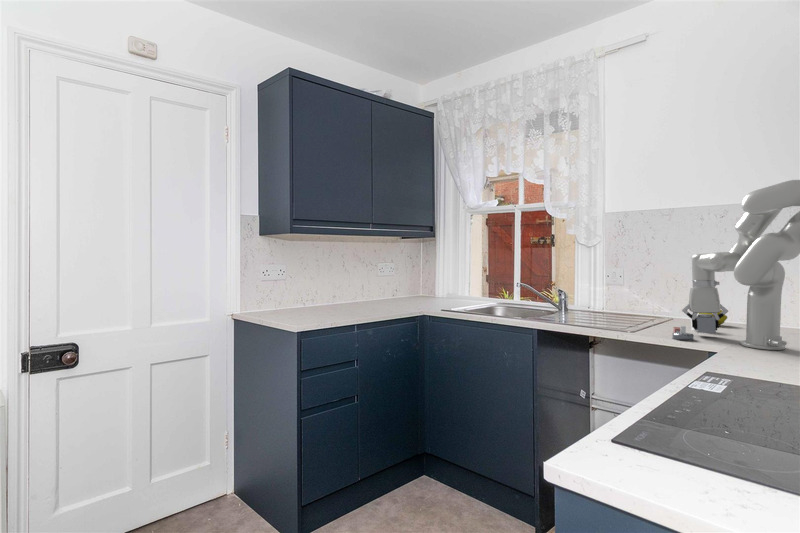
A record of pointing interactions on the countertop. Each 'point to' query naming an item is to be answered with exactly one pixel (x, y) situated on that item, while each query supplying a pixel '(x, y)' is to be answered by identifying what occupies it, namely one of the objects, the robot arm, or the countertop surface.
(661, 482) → the countertop surface
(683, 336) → the toy boat
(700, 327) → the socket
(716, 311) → the robot arm
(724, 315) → the lemon
